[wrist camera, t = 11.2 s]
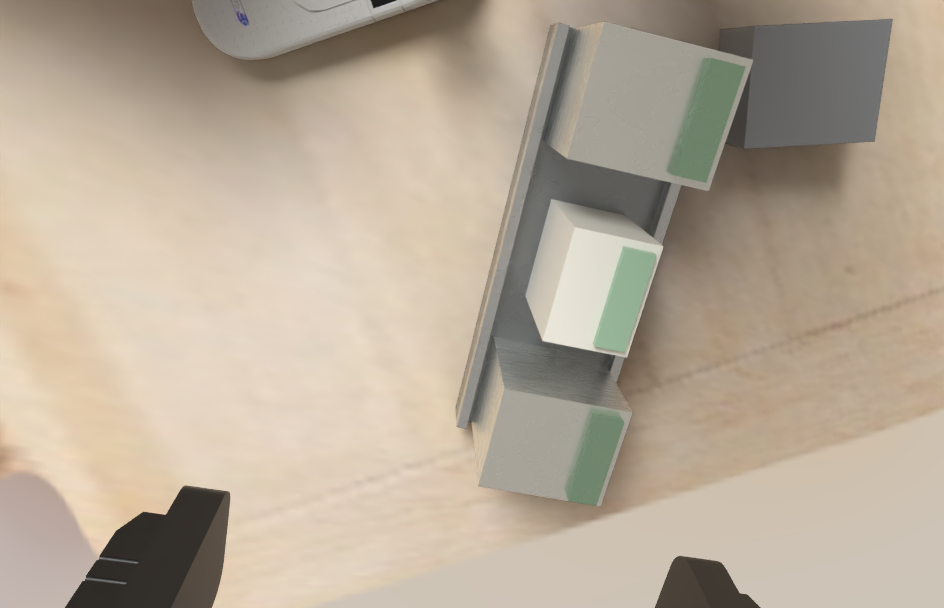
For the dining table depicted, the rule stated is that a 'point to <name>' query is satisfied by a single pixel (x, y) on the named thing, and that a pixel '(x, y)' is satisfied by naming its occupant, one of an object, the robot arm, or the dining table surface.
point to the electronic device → (287, 22)
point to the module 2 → (809, 82)
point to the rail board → (600, 187)
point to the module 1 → (591, 278)
